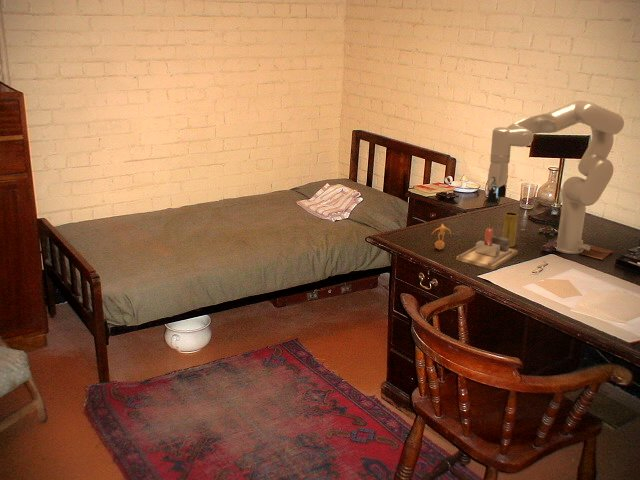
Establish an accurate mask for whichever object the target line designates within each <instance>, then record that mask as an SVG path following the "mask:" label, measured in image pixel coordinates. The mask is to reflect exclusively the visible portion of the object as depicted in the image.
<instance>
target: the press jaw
mask: <svg viewBox="0 0 640 480" xmlns="http://www.w3.org/2000/svg"><path fill="white" fill-rule="evenodd" d="M494 231H495V230H494V228H493V227H492V228H491V227H485V233H484V240H485V241H484V240H479V241H476V243H475V246H476V248H475V252H478V253H482V254H485V255H489V256H493V257H496V256H498V255H499V254H500V245H497V244H493V243H492V241H493V235H494Z"/></svg>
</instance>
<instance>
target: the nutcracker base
mask: <svg viewBox="0 0 640 480" xmlns="http://www.w3.org/2000/svg"><path fill="white" fill-rule="evenodd" d="M483 241H485V239H484V240H483ZM492 243H493V244H497V245H500V254H499V255H498V256H496V257H493V256H489V255H485V254H482V253H478V252H475V248H476V245H475V246H473V247H471V248H469V249H468V250H465V251H464V252H462V253H461V254H458V255H457V256H456V258H455V259H456V261H458V262H463V263H466V264H470V265H474V266H477V267H480V268H481V267H482V268H485V269H488V270H491V271H492V270H495V269H496V268H498V267H499V266H500V265H502V264H504V263H505V262H507V261H509V260H510V259H511V258H512V259H513V258H514V257H515V256H517V255H518V253H519V250H518V249H515V248H511V247H509V244H510V239H507V238H503V237H502V236H498V235H494V234H493V241H492Z"/></svg>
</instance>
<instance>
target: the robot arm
mask: <svg viewBox="0 0 640 480" xmlns="http://www.w3.org/2000/svg"><path fill="white" fill-rule="evenodd" d="M577 124H583V125H587V126H588V127H590V129H591V134H592V135H591V141H590V143H589V144H588V147H587V148H586V150H585V152H584V153H583V155H582V157H581V158H580V160H579V162H578V165H577V169H578V172H579V173H580V174H581V175H582V176H585V177H586V178H582V177H580V176H571V177H568V178H567V179H566V180H565V181H564V182H563V185H562V189H561V196H562V198H561V201H562V202H561V203H562V204H561V212H560V218H559V226H558V233H557V239H556V242H557V247H555V248H556V250H555V251H556V252H560V253H564V254H569V255H570V254H572V255H574V254H575V255H576V254H582V253H584V251H590V250H591V246H590V244H586V243H584V240H583V239H582V236H583V230H584V224H585V216H586V207H590V206H592V205H594V204H595V203H597V202H598V201H599V199H600V198H601V196H602V195H603V193H604V191H605V189H606V188H607V186H608V184H609V183H610V181H611V179H612V177H613V173H614V165H613V163H612V162H611V160H609V159H608V157H609V154H610V152H611V150H612V148H613V146H614V141H615V139H614V138H615V137H614V135H617V134H619V133H620V132H621V131H622V130H623V128H624V127H625V120H624V118H623V116H621V115H620V114H619V113H616V112H614V111H612V110H610V109H607V108H604V107H602V106H600V105H599V104H596V103H593V102H590V101H585V100H576V101H573V102H570V103H568V104H566V105H564V106H561V107H558V108H557V109H554V110H552V111H549V112H546V113H541V114H538V115H533V116H529V117H526V118H523V119H520V120H518V121H515V122H513V123H511V124H509V125H508V126H507V127H501V126H500V127H495V128H494V129H493V130H492V135H491V136H492V137H491V147H490V148H491V149H490V158H489V161H490V162H489V163H490V164H489V168H488V176H487V181H486V182H487V183H486V185H487V187H488V188H487V192H488V195H487V202H489V203H493V204H495V203H496V202H497V197H499V198H506V192H507V183H508V178H509V164H510V158H511V149H512V147H518V148H524V147H528V146H529V145H531V144H532V142H533V141H534V135H536V134H554V133H558V132H560V131H562V130H564V129H567V128H570V127H573V126H574V125H577Z"/></svg>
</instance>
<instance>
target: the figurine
mask: <svg viewBox="0 0 640 480" xmlns="http://www.w3.org/2000/svg"><path fill="white" fill-rule="evenodd" d="M436 231H439V232H438V234H437V237H438V240H437V241H436V242H435V244H434V246H435V249H437V250H439V251H440V250H443V249H444V247H445V241H444V236H445V234H446V232H445V231H449V233H450V235H452V232H451V229H450V228H448V227H446V226H445V225H444V223H441V225H440V226H439V227H438V228H436V229H434V230H433V231H432V233H431V235H433V234H434V233H435V232H436ZM441 235H442V237H440V236H441Z"/></svg>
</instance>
